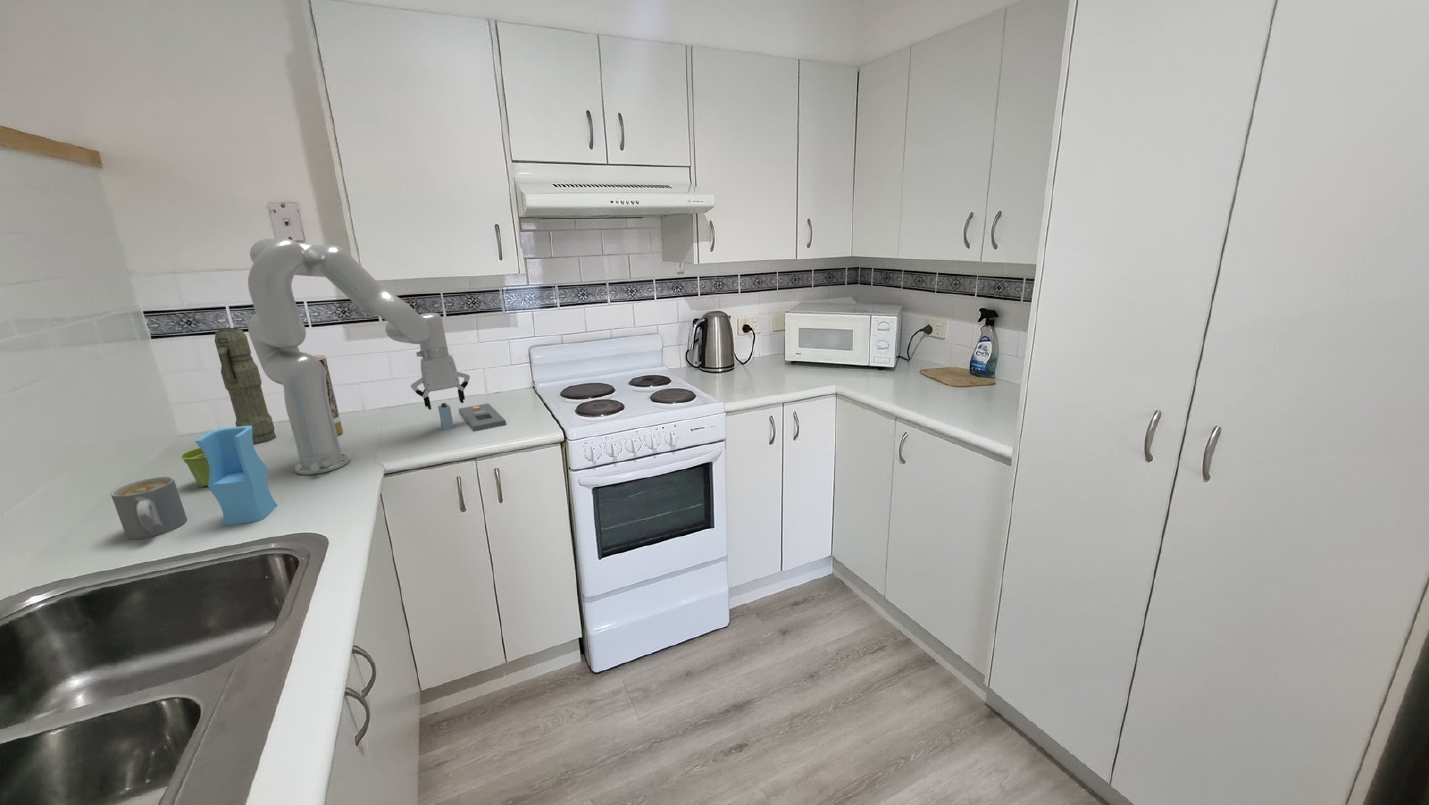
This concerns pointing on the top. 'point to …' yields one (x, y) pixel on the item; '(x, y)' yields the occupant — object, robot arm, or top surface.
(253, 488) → the blue toy armchair
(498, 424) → the plate
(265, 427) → the olive-green tall carved figure
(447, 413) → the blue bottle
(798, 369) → the top surface
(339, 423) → the paper tube
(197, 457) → the plant pot
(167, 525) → the coffee mug
